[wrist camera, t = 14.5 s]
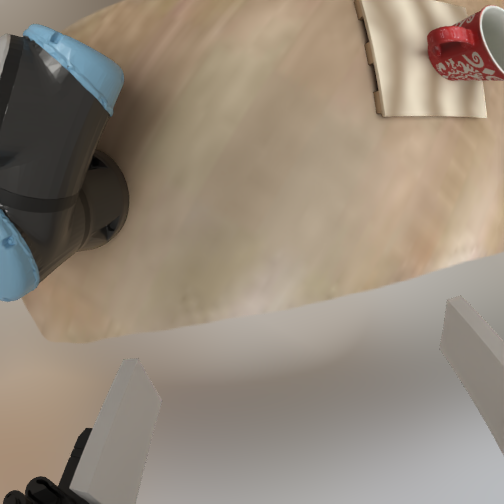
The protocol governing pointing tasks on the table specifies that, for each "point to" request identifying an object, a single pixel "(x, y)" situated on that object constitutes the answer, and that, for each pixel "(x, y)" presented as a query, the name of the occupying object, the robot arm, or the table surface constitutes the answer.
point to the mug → (470, 47)
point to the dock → (414, 60)
